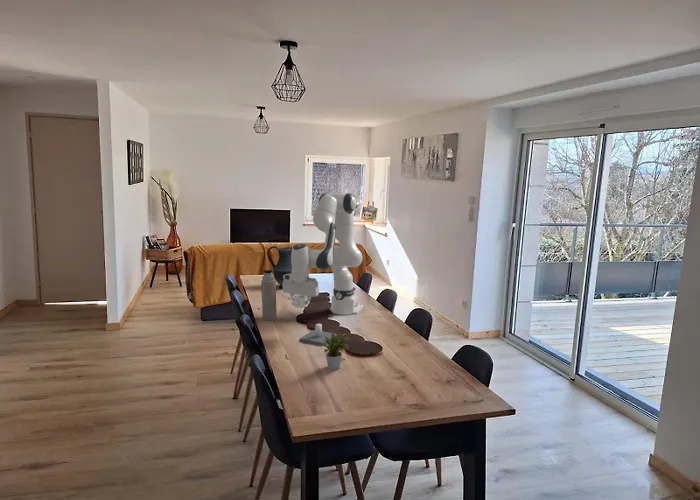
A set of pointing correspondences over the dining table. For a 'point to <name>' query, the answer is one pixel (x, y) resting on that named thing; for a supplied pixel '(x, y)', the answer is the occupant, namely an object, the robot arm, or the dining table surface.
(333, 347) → the house plant
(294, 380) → the dining table surface
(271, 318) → the thermos bottle
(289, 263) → the pitcher
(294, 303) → the collar
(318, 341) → the duct plate
